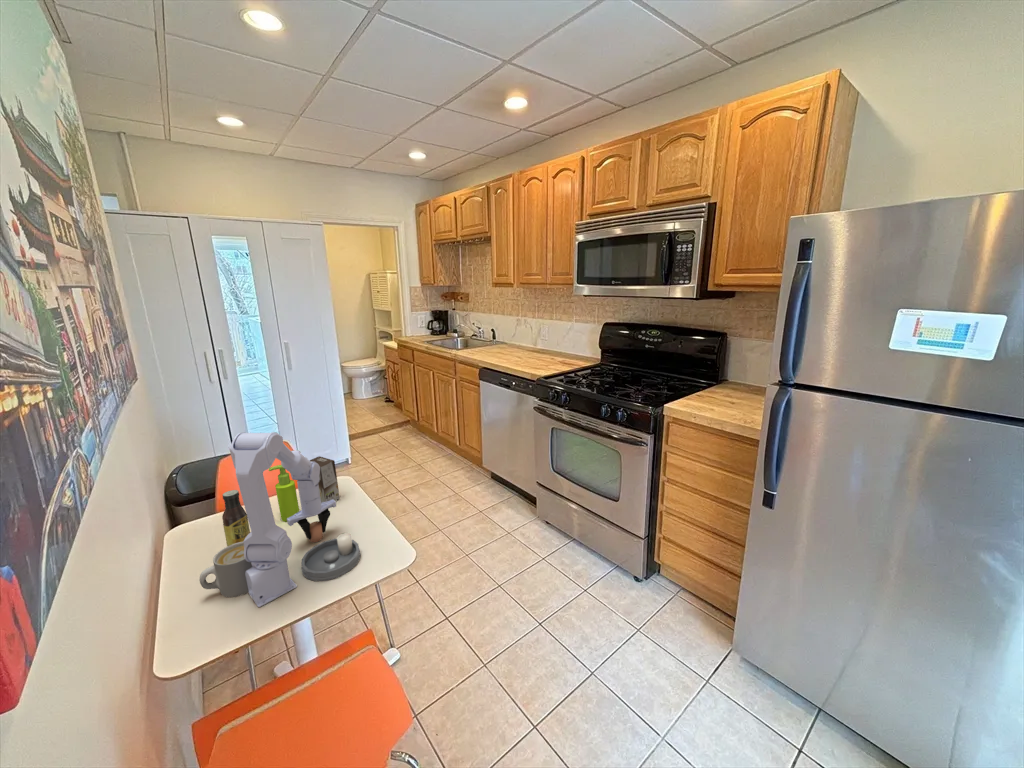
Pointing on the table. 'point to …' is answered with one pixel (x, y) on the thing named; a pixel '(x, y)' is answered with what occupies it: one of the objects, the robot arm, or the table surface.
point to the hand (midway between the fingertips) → (316, 534)
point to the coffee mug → (228, 571)
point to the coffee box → (327, 479)
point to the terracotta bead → (316, 531)
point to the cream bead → (345, 544)
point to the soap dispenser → (286, 494)
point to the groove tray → (325, 569)
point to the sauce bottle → (234, 519)
